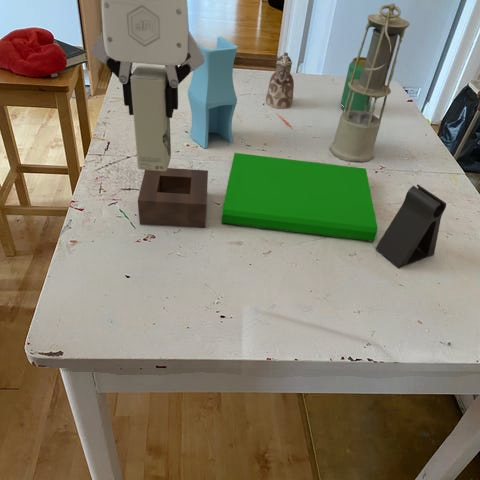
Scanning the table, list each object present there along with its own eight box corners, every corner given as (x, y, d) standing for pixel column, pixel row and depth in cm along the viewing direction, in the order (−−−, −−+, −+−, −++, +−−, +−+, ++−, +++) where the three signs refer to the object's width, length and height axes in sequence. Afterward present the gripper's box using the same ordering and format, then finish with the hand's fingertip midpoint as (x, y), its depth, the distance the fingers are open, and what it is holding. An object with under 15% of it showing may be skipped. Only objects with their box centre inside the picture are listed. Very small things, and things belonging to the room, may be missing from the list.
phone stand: (410, 237, 89) (434, 179, 80) (433, 255, 85) (461, 197, 77) (374, 249, 85) (395, 190, 77) (397, 268, 82) (422, 209, 73)
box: (166, 173, 69) (163, 80, 60) (136, 170, 69) (129, 77, 60) (171, 156, 73) (169, 66, 64) (143, 153, 73) (136, 63, 63)
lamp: (375, 147, 114) (419, 2, 93) (369, 171, 106) (416, 17, 84) (333, 138, 116) (367, -7, 94) (324, 161, 107) (358, 7, 86)
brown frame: (139, 224, 85) (137, 200, 81) (147, 189, 93) (145, 166, 89) (205, 228, 86) (206, 204, 82) (207, 193, 94) (208, 170, 90)
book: (233, 165, 102) (234, 152, 100) (362, 181, 102) (365, 168, 100) (221, 224, 87) (222, 210, 85) (373, 243, 87) (378, 229, 84)
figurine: (262, 105, 127) (268, 56, 118) (269, 96, 131) (275, 48, 123) (288, 110, 125) (296, 61, 117) (294, 101, 130) (301, 53, 122)
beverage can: (366, 117, 127) (379, 69, 118) (337, 111, 128) (348, 63, 119) (370, 106, 132) (383, 60, 123) (342, 100, 133) (352, 54, 125)
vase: (216, 128, 114) (220, 36, 100) (233, 142, 110) (240, 47, 96) (187, 134, 111) (187, 39, 97) (204, 148, 107) (207, 51, 92)
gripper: (56, -55, 49) (84, 119, 62) (217, -39, 50) (211, 128, 63) (73, -66, 55) (96, 97, 68) (219, -52, 56) (213, 106, 69)
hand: (151, 111), depth 65 cm, fingers closed on box, 4 cm apart
